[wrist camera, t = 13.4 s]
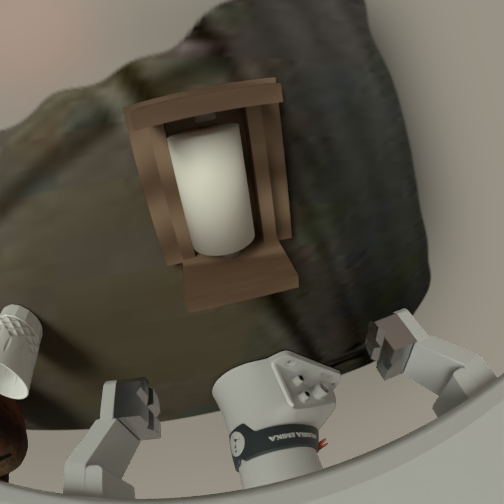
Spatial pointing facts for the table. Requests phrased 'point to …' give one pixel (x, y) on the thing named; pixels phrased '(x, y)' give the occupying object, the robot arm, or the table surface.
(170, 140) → the paper roll
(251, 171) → the roll holder
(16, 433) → the ceramic vessel
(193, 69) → the table surface
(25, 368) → the white cup
